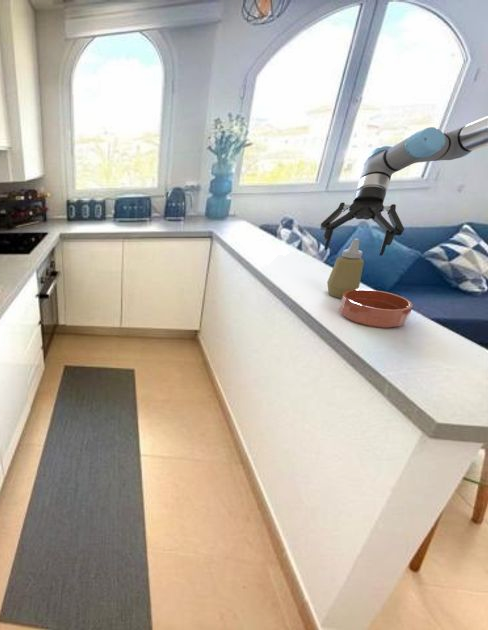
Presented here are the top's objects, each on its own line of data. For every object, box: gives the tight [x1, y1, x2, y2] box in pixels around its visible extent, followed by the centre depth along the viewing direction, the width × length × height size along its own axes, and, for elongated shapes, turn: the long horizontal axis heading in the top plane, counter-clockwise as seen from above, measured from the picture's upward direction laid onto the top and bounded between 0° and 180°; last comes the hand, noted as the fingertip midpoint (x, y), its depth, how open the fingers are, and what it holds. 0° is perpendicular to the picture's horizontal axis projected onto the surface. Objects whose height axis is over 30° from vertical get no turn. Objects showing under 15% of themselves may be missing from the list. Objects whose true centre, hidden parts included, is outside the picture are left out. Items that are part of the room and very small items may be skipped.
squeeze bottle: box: [327, 238, 365, 299], centre depth 105 cm, size 8×8×18 cm
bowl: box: [338, 288, 414, 329], centre depth 94 cm, size 14×14×6 cm
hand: (352, 250), depth 106 cm, fingers open, 13 cm apart
